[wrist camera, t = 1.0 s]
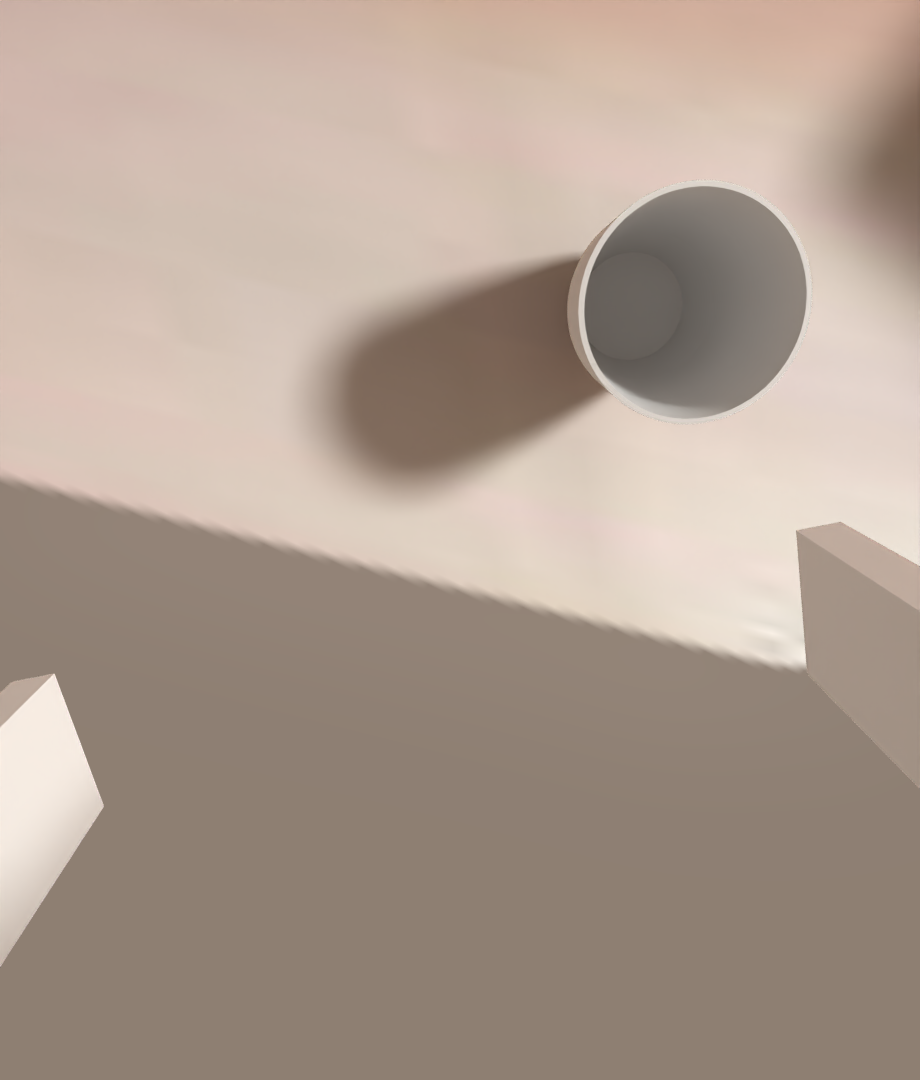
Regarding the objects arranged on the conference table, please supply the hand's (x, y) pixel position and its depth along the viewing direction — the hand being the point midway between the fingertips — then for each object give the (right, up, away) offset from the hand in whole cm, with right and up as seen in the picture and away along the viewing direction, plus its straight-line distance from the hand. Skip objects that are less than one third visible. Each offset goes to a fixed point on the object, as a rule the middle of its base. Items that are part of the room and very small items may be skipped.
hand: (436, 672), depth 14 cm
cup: (+8, +13, +24) cm, 28 cm away
